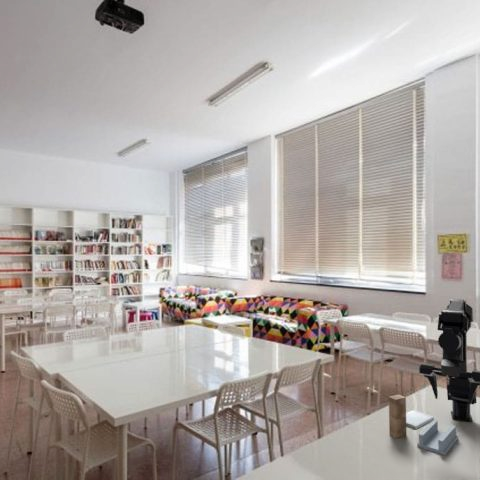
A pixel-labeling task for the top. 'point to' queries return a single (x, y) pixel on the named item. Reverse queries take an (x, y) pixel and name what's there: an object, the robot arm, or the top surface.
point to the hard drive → (417, 419)
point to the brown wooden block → (397, 416)
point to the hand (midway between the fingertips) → (452, 401)
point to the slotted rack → (437, 438)
